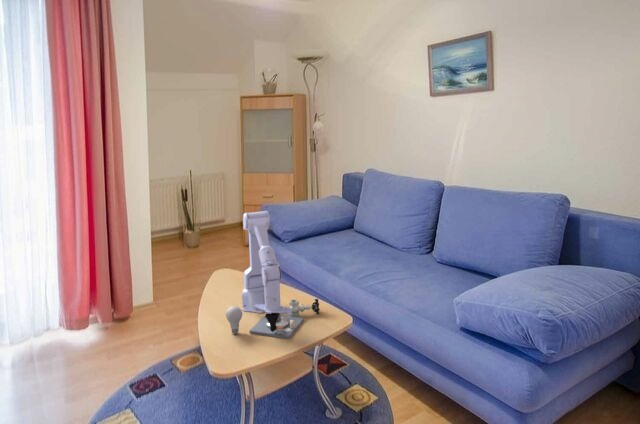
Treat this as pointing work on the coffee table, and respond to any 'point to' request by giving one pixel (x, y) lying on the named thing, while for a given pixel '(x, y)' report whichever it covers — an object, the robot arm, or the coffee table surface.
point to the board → (264, 330)
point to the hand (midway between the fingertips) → (273, 330)
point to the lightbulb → (234, 318)
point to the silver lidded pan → (279, 324)
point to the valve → (302, 307)
